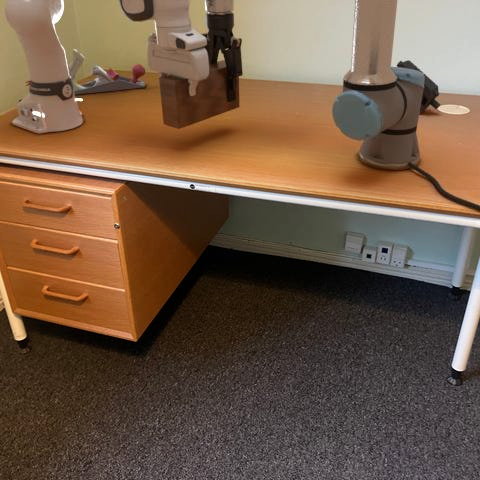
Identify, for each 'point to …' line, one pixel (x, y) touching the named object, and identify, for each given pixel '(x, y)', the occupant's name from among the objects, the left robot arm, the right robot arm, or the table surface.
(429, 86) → the tool
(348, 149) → the table surface
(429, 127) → the table surface
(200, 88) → the box
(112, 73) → the hand plane
